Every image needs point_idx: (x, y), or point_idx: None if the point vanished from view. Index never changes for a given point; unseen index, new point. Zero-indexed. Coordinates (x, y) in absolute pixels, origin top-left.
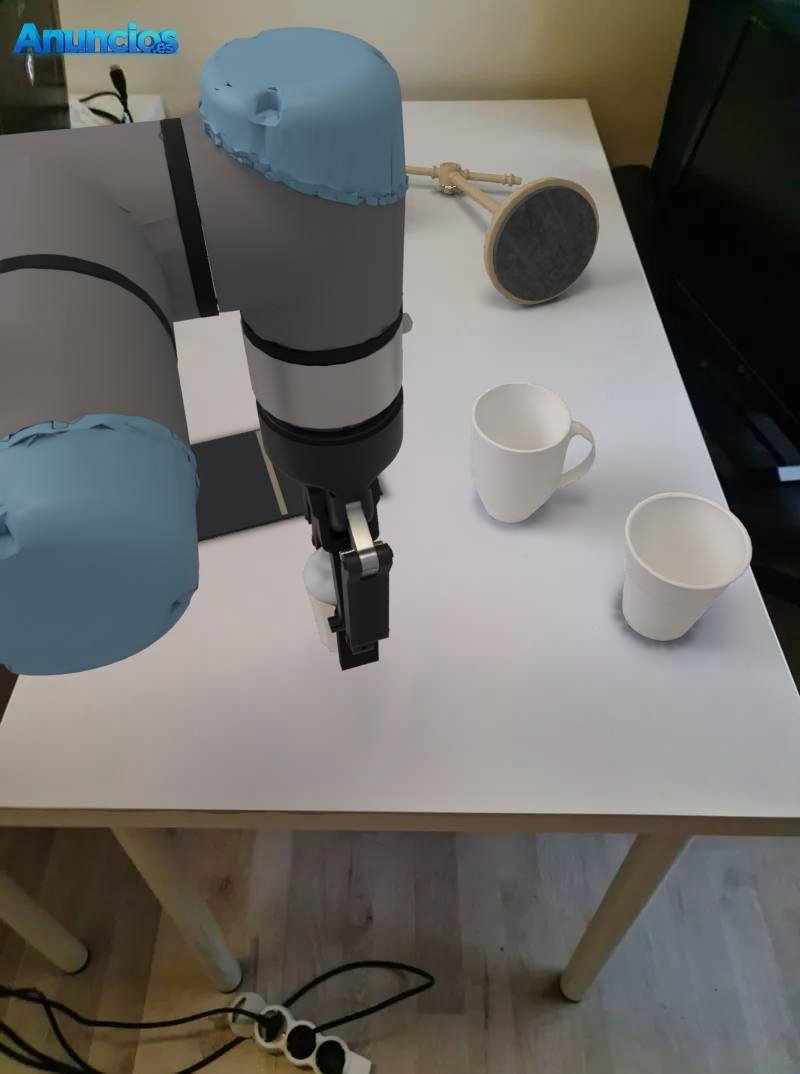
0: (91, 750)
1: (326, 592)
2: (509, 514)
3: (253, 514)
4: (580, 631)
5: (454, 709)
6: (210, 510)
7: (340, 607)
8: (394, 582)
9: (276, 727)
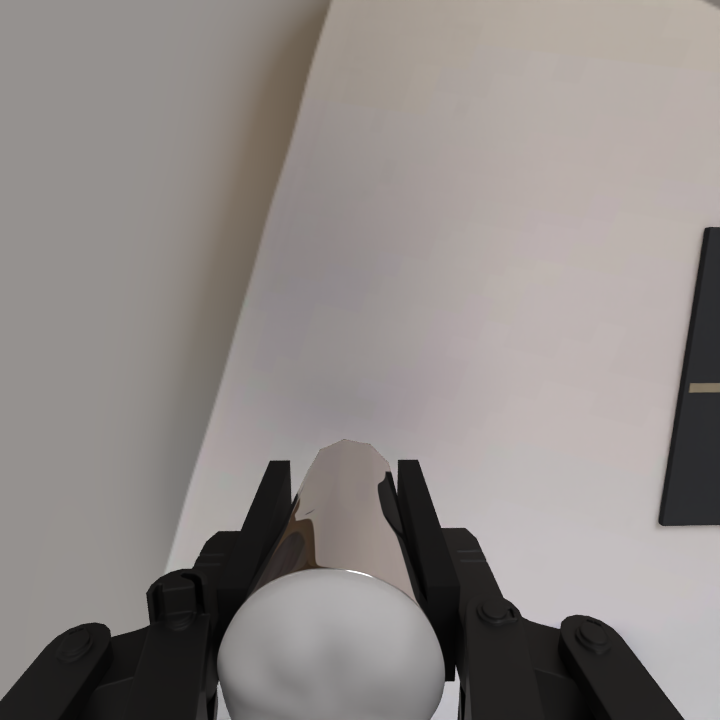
0: (403, 27)
1: (240, 647)
2: None
3: (712, 342)
4: None
5: None
6: None
7: (126, 705)
8: (510, 495)
9: (354, 295)
